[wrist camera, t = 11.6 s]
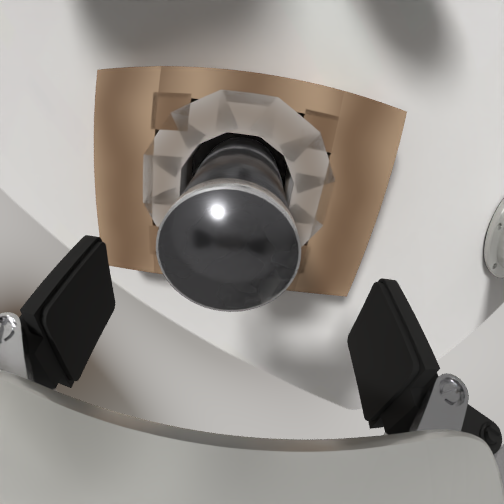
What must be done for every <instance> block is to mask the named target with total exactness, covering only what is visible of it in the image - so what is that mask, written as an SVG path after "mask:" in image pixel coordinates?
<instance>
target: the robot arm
mask: <svg viewBox="0 0 504 504" xmlns="http://www.w3.org/2000/svg"><path fill="white" fill-rule="evenodd" d="M484 259H485V263H486V266H487V268H488V269H489V271H490V272H491V273H492V274H493V275H494V276H496V277H497V278H504V199H503V200H502V202H501V203H500V205H499V206H498V208H497V210H496V212H495V213H494V216H493V218H492V220H491V223H490V225H489V228H488V231H487V235H486V240H485V247H484ZM114 308H115V298H114V293H113V287H112V281H111V275H110V269H109V263H108V256H107V248H106V244H105V243H104V242H102V239H101V238H100V237H94V236H88V235H85V236H84V237H83V238H82V239H81V240H80V241H79V242H78V243H77V244H76V245H75V246H74V247H73V248H72V249H71V250H70V252H69V253H68V254H67V255H66V256H65V257H64V258H63V259H62V260H61V261H60V263H59V264H58V265H57V266H56V267H55V268H54V269H53V270H52V271H51V273H50V274H49V275H48V276H47V277H46V278H45V280H44V281H43V282H42V283H41V284H40V286H39V287H38V288H37V289H36V290H35V292H34V293H33V294H32V295H31V297H30V298H29V299H28V300H27V302H26V303H25V304H24V306H23V307H22V308H21V309H20V311H21V313H22V315H21V316H20V317H19V318H18V317H17V315H15V314H13V313H9V312H6V313H1V314H0V504H504V444H503V445H501V444H502V436H501V432H500V429H499V427H498V426H497V425H496V424H495V423H494V422H492V421H491V420H490V419H488V418H487V417H485V416H484V415H483V414H481V413H480V412H478V411H477V410H475V409H474V408H473V407H471V406H470V405H468V399H469V395H468V390H467V388H466V386H465V384H464V383H463V382H462V381H461V380H460V379H459V378H458V377H456V376H454V375H452V374H442V375H441V376H439V377H438V374H437V371H438V370H439V369H440V367H439V365H438V363H437V360H436V358H435V356H434V354H433V352H432V349H431V347H430V345H429V343H428V341H427V339H426V337H425V334H424V332H423V330H422V328H421V326H420V324H419V322H418V320H417V318H416V316H415V314H414V312H413V310H412V309H411V307H410V305H409V303H408V301H407V299H406V297H405V295H404V293H403V292H402V290H401V288H400V286H399V284H398V283H397V281H395V280H390V279H380V280H379V281H378V282H375V283H374V284H373V286H372V288H371V291H370V293H369V295H368V297H367V299H366V301H365V303H364V305H363V307H362V309H361V311H360V313H359V315H358V317H357V319H356V321H355V323H354V325H353V327H352V329H351V331H350V333H349V335H348V347H349V351H350V355H351V359H352V363H353V368H354V372H355V376H356V381H357V385H358V390H359V394H360V399H361V404H362V409H363V414H364V418H365V420H367V421H369V426H370V428H379V427H384V429H385V433H384V435H382V436H372V437H359V438H346V439H324V440H322V439H320V440H319V439H318V440H294V439H268V438H254V437H241V436H232V435H224V434H216V433H209V432H203V431H196V430H190V429H185V428H179V427H175V426H170V425H165V424H160V423H156V422H151V421H147V420H143V419H139V418H136V417H132V416H128V415H124V414H120V413H118V412H114V411H111V410H108V409H104V408H101V407H98V406H95V405H92V404H90V403H87V402H84V401H81V400H78V399H76V398H73V397H70V396H67V395H64V394H62V393H59V392H57V390H56V386H57V385H58V383H60V384H62V385H65V386H67V387H70V388H71V387H72V385H73V383H74V381H77V380H78V379H79V378H80V376H81V374H82V372H83V370H84V368H85V365H86V364H87V361H88V359H89V357H90V355H91V353H92V351H93V349H94V347H95V345H96V343H97V341H98V339H99V337H100V335H101V334H102V332H103V330H104V328H105V326H106V324H107V322H108V320H109V318H110V316H111V315H112V313H113V311H114Z"/></svg>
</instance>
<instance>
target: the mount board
mask: <svg viewBox="0 0 504 504" xmlns="http://www.w3.org/2000/svg"><path fill="white" fill-rule="evenodd" d="M406 113H407V112H406V111H403V110H401V109H398V108H395V107H393V106H390V105H387V104H384V103H381V102H378V101H375V100H372V99H369V98H366V97H363V96H359V95H356V94H353V93H349V92H346V91H342V90H338V89H335V88H331V87H327V86H323V85H319V84H314V83H310V82H305V81H300V80H296V79H290V78H285V77H280V76H274V75H268V74H261V73H254V72H246V71H238V70H228V69H217V68H203V67H179V66H149V67H125V68H112V69H101V70H98V71H97V81H96V94H95V112H94V173H95V191H96V205H97V216H98V226H99V234H100V238H101V239H102V242H104V243H105V244H106V248H107V256H108V263H109V266H114V267H120V268H126V269H133V270H139V271H145V272H152V273H158V274H163V273H162V271H161V268H160V266H159V263H158V259H157V255H156V238H157V233H158V230H159V227H160V224H161V222H162V220H163V219H164V217H165V215H166V214H167V212H168V211H169V209H170V207H171V206H172V205H173V203H174V202H175V201H176V200H177V199H178V198H179V197H180V196H181V195H182V193H183V192H184V190H185V189H186V187H187V186H188V184H189V183H190V181H191V180H192V166H193V155H194V153H195V152H196V151H197V149H198V148H199V146H200V145H201V144H202V143H203V142H205V141H207V140H210V139H212V138H214V137H217V136H219V135H221V134H224V133H226V132H231V133H239V134H246V135H253V136H260V137H261V138H262V139H263V140H265V141H266V142H267V143H269V144H270V145H271V146H272V147H274V148H275V149H276V150H277V151H279V152H280V153H281V154H282V155H283V156H284V159H285V162H286V164H287V167H288V168H287V173H286V178H285V183H284V188H283V189H284V193H285V197H286V200H287V204H288V208H289V211H290V213H291V215H292V217H293V219H294V221H295V225H296V228H297V232H298V235H299V239H300V244H301V260H300V265H299V268H298V271H297V274H296V276H295V278H294V279H293V281H292V283H291V284H290V285H289V287H288V288H287V289H286V290H289V291H298V292H307V293H317V294H327V295H337V296H347V295H348V292H349V290H350V287H351V285H352V283H353V280H354V278H355V275H356V273H357V270H358V268H359V265H360V263H361V260H362V258H363V255H364V252H365V250H366V247H367V244H368V242H369V239H370V236H371V233H372V231H373V228H374V225H375V222H376V219H377V216H378V213H379V210H380V207H381V204H382V201H383V198H384V195H385V192H386V188H387V185H388V182H389V179H390V175H391V172H392V168H393V165H394V161H395V158H396V154H397V150H398V146H399V143H400V139H401V135H402V131H403V126H404V122H405V118H406Z"/></svg>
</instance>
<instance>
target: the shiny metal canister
mask: <svg viewBox="0 0 504 504" xmlns="http://www.w3.org/2000/svg"><path fill="white" fill-rule="evenodd" d="M156 255H157V259H158V263H159V266H160V268H161V271H162V273H163V274H164V276H165V278H166V279H167V281H168V282H169V283H170V285H171V286H172V287H173V288H174V289H175V290H176V291H177V292H179V293H180V294H181V295H182V296H184V297H185V298H187V299H188V300H190V301H192V302H194V303H196V304H198V305H200V306H203V307H206V308H209V309H213V310H218V311H228V312H234V311H245V310H250V309H254V308H257V307H260V306H263V305H265V304H267V303H269V302H271V301H272V300H274V299H276V298H277V297H278V296H279V295H281V294H282V293H283V292H284V291H285V290H286V289H287V288H288V287H289V285H290V284H291V283H292V281H293V279H294V278H295V276H296V274H297V271H298V268H299V265H300V260H301V244H300V239H299V235H298V232H297V228H296V225H295V221H294V219H293V217H292V215H291V213H290V211H289V208H288V204H287V200H286V197H285V193H284V189H283V184H282V179H281V176H280V173H279V169H278V167H277V165H276V162H275V159H274V157H273V155H272V153H271V152H270V151H269V149H268V148H267V147H266V146H264V145H263V144H262V143H260V142H258V141H256V140H254V139H251V138H247V137H234V138H230V139H227V140H225V141H222V142H221V143H219V144H218V145H217V146H215V147H214V148H213V149H212V151H211V152H210V153H209V154H208V155H207V157H206V158H205V159H204V161H203V162H202V163H201V165H200V166H199V168H198V169H197V171H196V173H195V175H194V177H193V178H192V180H191V181H190V183H189V184H188V186H187V187H186V189H185V190H184V192H183V193H182V195H181V196H180V197H179V198H178V199H177V200H176V201H175V202H174V203H173V205H172V206H171V207H170V209H169V211H168V212H167V214H166V215H165V217H164V219H163V220H162V222H161V224H160V227H159V230H158V233H157V238H156Z"/></svg>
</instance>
